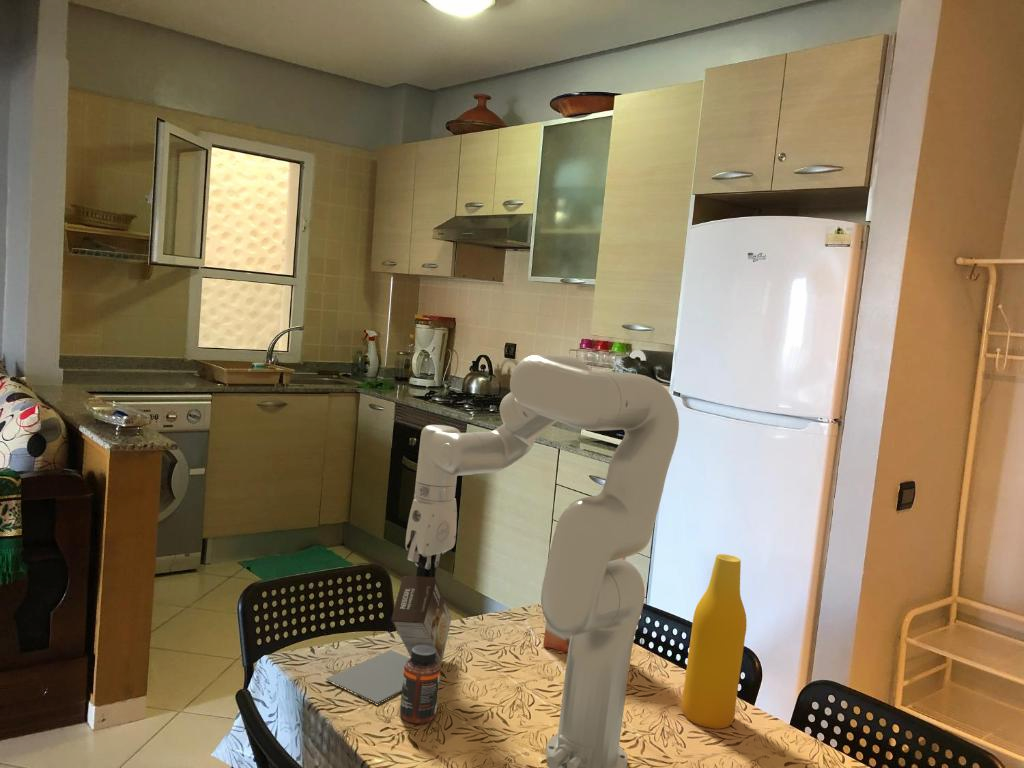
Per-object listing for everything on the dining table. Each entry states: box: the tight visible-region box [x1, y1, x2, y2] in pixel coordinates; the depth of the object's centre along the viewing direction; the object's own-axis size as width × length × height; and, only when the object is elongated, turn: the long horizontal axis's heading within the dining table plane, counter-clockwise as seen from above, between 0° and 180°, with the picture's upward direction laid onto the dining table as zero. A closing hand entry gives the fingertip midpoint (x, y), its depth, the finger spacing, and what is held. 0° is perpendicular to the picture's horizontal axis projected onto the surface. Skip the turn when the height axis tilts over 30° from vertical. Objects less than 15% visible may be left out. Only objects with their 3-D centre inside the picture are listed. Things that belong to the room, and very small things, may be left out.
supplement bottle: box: [399, 645, 441, 725], centre depth 129 cm, size 6×6×11 cm
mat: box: [325, 649, 411, 705], centre depth 142 cm, size 17×12×1 cm
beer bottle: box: [680, 553, 747, 730], centre depth 139 cm, size 9×9×29 cm
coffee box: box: [390, 575, 452, 662], centre depth 147 cm, size 9×6×16 cm
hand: (424, 586), depth 149 cm, fingers closed
